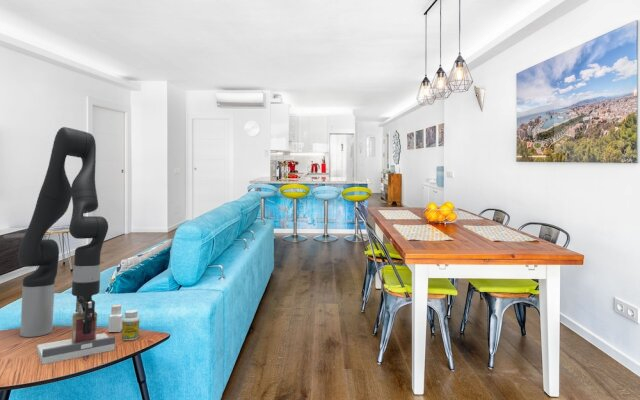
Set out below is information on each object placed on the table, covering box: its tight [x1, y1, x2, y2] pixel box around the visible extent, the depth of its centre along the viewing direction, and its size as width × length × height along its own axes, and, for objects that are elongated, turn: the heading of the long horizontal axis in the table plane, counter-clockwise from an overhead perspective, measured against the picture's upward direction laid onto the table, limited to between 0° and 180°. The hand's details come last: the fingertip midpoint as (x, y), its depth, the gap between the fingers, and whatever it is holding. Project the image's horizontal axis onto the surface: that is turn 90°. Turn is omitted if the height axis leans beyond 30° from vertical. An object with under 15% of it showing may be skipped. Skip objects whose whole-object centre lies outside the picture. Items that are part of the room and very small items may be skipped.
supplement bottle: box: [121, 309, 140, 341], centre depth 134 cm, size 5×5×10 cm
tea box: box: [70, 311, 98, 344], centre depth 121 cm, size 4×6×10 cm
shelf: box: [36, 332, 116, 365], centre depth 121 cm, size 13×19×4 cm
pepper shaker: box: [107, 304, 124, 333], centre depth 140 cm, size 4×4×10 cm
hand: (83, 330), depth 121 cm, fingers open, 8 cm apart
